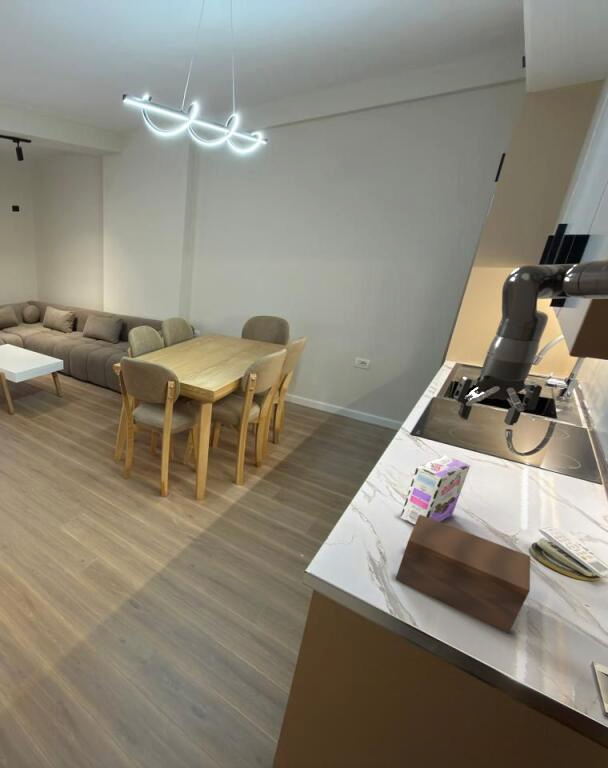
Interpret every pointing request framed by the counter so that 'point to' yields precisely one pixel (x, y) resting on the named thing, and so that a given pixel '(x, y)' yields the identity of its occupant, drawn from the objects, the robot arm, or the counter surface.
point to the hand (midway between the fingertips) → (485, 421)
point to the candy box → (435, 490)
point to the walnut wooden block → (466, 572)
